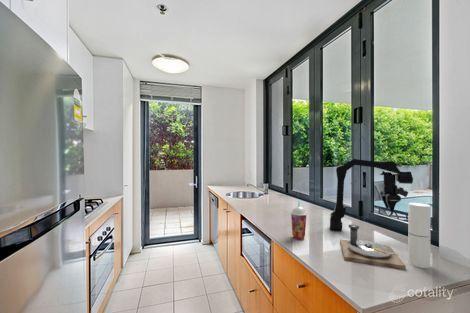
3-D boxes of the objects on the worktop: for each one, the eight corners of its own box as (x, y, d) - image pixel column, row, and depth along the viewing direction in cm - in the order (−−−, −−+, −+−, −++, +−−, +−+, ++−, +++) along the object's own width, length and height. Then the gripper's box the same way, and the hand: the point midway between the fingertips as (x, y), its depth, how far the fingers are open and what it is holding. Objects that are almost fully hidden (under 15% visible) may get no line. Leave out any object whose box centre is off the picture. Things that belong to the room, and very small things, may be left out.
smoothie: (306, 236, 125) (306, 200, 125) (306, 241, 117) (306, 203, 117) (291, 234, 127) (291, 199, 127) (290, 239, 120) (290, 202, 120)
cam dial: (350, 254, 97) (350, 231, 97) (345, 240, 113) (346, 220, 113) (396, 261, 91) (396, 236, 91) (385, 246, 107) (385, 224, 107)
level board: (344, 259, 96) (344, 256, 96) (340, 242, 116) (340, 238, 116) (406, 269, 88) (406, 265, 88) (390, 248, 108) (390, 245, 108)
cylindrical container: (403, 260, 96) (404, 202, 96) (419, 259, 97) (419, 202, 97) (418, 268, 89) (419, 206, 89) (435, 267, 90) (435, 206, 90)
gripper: (412, 185, 115) (412, 215, 115) (401, 181, 132) (401, 207, 132) (387, 184, 119) (387, 213, 119) (379, 181, 136) (379, 206, 136)
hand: (389, 210), depth 127 cm, fingers open, 9 cm apart
